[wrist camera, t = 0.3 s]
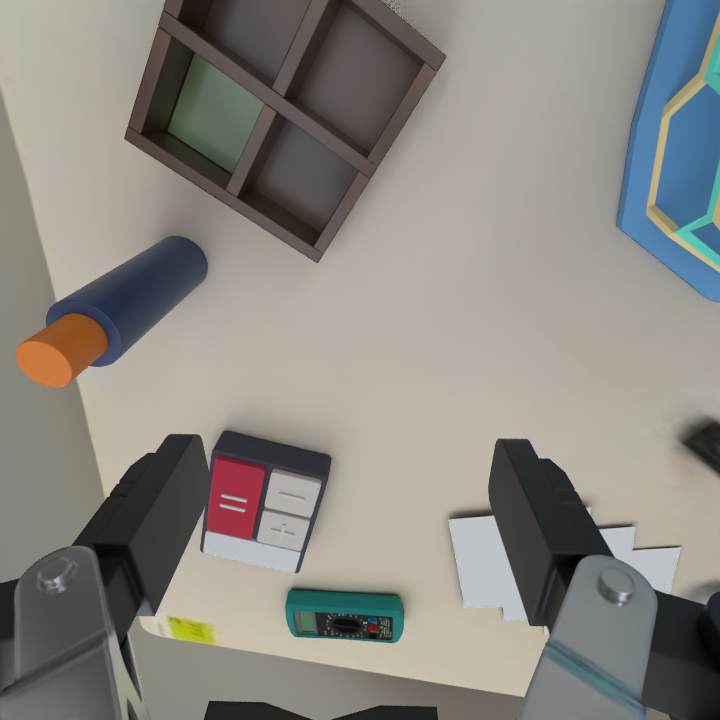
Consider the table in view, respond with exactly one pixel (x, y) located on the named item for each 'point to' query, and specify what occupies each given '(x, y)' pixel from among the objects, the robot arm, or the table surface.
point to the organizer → (280, 105)
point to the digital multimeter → (345, 615)
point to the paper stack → (495, 578)
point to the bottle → (112, 312)
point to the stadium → (679, 148)
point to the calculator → (262, 501)
